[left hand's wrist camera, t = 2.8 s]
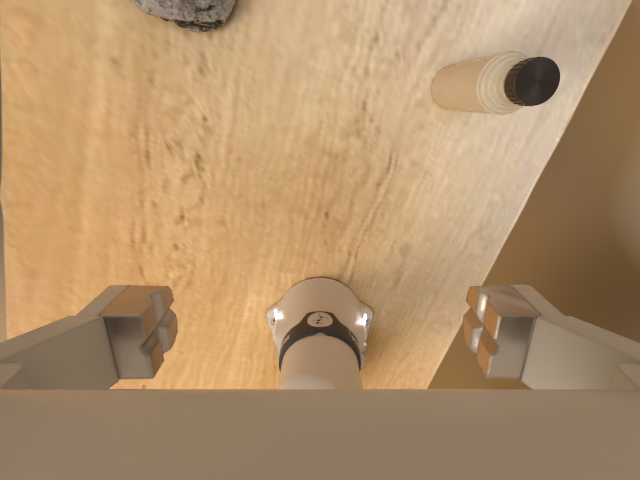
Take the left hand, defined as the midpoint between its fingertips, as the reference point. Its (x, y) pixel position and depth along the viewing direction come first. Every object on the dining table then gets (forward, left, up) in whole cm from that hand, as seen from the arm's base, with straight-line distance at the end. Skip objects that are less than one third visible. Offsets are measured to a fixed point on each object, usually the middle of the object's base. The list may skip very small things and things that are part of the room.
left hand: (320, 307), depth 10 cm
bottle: (+7, -19, -48) cm, 52 cm away
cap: (+7, -19, -26) cm, 33 cm away
